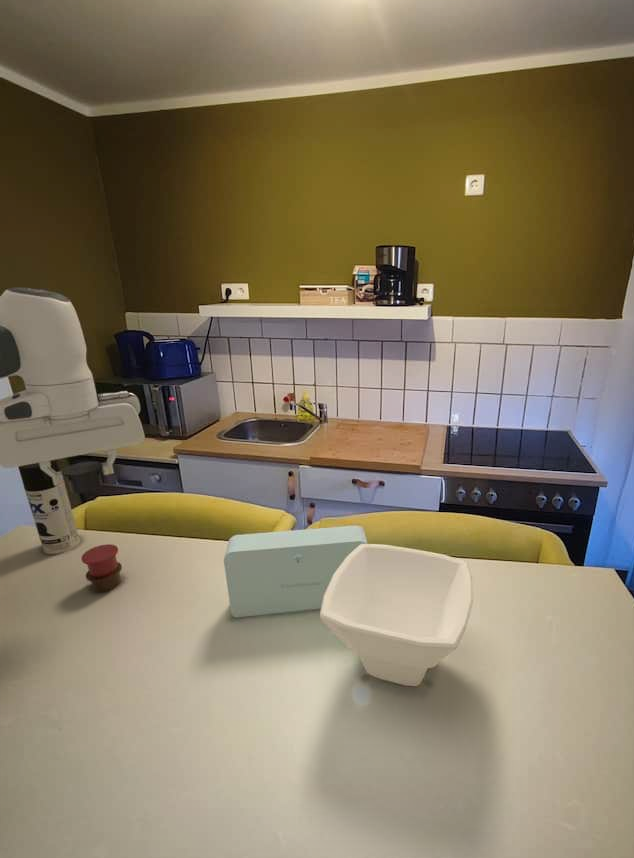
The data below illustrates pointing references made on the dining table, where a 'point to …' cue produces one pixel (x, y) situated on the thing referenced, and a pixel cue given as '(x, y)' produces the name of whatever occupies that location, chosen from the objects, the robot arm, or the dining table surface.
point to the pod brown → (105, 580)
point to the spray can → (50, 509)
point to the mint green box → (285, 568)
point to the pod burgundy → (101, 560)
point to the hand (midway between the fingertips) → (84, 478)
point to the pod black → (84, 476)
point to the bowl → (399, 609)
